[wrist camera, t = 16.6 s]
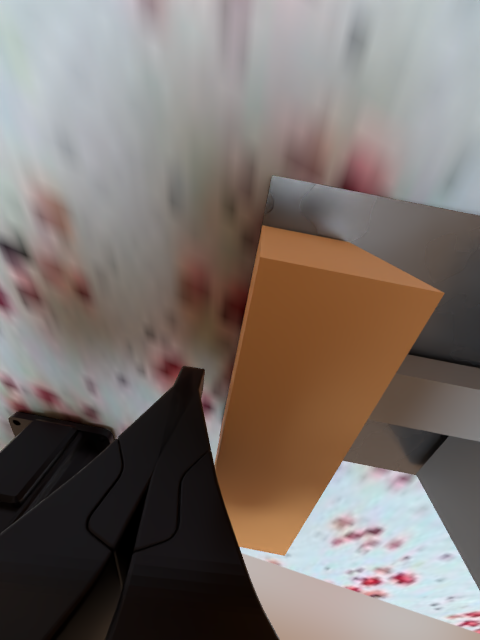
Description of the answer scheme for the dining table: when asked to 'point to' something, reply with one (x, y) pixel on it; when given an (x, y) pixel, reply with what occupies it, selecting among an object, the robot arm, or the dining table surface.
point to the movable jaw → (338, 390)
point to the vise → (411, 257)
